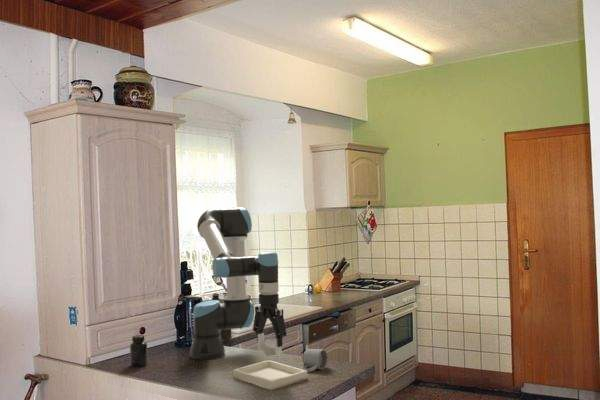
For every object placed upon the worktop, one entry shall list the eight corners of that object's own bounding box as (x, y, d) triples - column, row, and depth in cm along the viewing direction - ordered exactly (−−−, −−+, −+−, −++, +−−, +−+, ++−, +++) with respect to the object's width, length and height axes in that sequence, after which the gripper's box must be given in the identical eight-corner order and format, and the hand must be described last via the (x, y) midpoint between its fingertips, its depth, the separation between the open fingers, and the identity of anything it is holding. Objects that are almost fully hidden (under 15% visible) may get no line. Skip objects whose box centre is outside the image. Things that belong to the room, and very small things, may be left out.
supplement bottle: (139, 361, 237) (139, 333, 238) (150, 364, 234) (150, 335, 234) (126, 366, 232) (126, 336, 232) (138, 368, 228) (138, 338, 228)
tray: (233, 377, 213) (233, 369, 213) (268, 367, 226) (268, 360, 226) (271, 390, 197) (271, 381, 197) (307, 378, 210) (307, 370, 210)
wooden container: (205, 334, 288) (205, 291, 288) (234, 334, 286) (233, 291, 287) (197, 341, 273) (197, 295, 273) (227, 341, 272) (226, 295, 272)
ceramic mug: (310, 364, 230) (309, 345, 230) (328, 366, 226) (327, 347, 226) (297, 371, 220) (297, 351, 220) (315, 374, 216) (315, 354, 216)
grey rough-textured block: (274, 364, 208) (277, 351, 207) (258, 360, 209) (261, 346, 207) (279, 350, 218) (282, 337, 216) (264, 346, 218) (267, 333, 217)
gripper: (242, 291, 217) (243, 350, 217) (280, 297, 202) (281, 360, 201) (257, 289, 222) (258, 346, 222) (295, 294, 207) (296, 355, 206)
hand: (269, 352), depth 212 cm, fingers closed on grey rough-textured block, 9 cm apart
